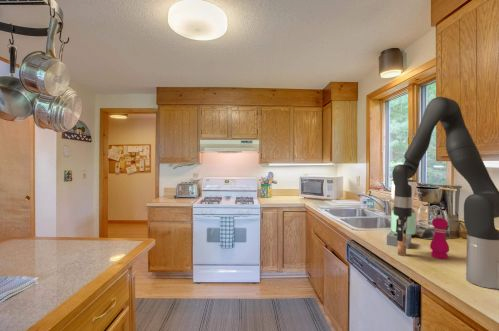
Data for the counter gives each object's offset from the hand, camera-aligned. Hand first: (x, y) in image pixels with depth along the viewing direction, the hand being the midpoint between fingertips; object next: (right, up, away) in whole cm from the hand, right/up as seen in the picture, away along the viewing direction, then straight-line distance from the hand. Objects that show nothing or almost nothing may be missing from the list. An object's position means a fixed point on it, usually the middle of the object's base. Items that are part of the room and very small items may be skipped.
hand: (401, 238), depth 121 cm
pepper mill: (+16, -8, -3) cm, 18 cm away
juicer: (+21, -8, +33) cm, 40 cm away
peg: (0, -8, 0) cm, 8 cm away
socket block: (+8, -8, +15) cm, 19 cm away
